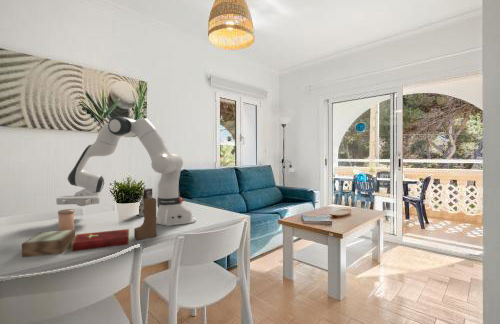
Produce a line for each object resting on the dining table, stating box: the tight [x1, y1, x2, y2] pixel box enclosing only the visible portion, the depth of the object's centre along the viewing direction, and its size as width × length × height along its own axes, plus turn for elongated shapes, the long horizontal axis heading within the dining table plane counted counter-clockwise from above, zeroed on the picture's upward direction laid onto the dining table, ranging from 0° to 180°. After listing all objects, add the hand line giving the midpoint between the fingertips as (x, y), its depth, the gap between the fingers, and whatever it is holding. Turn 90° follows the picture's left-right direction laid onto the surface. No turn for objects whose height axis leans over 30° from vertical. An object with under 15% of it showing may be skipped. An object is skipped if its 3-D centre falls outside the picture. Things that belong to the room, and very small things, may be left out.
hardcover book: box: [70, 228, 130, 252], centre depth 115 cm, size 12×21×4 cm, turn 115°
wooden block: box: [133, 197, 157, 241], centre depth 123 cm, size 9×4×18 cm, turn 128°
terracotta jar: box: [57, 208, 75, 231], centre depth 125 cm, size 6×6×12 cm
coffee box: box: [139, 188, 153, 217], centre depth 168 cm, size 9×6×16 cm
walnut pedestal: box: [21, 229, 76, 258], centre depth 109 cm, size 13×15×5 cm
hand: (74, 202), depth 136 cm, fingers open, 8 cm apart
